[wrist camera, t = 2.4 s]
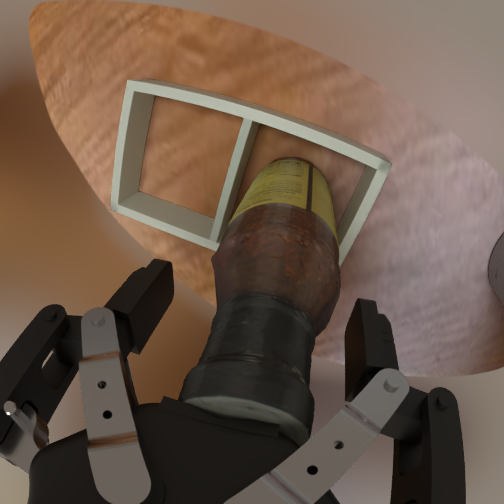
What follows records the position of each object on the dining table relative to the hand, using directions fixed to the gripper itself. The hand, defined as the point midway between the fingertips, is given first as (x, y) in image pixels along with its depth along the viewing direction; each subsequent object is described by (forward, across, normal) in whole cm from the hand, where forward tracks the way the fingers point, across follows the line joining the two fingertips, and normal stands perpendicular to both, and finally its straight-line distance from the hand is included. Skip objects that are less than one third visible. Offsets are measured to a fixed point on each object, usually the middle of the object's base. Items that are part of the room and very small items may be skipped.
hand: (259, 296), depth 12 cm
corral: (+14, +4, -1) cm, 14 cm away
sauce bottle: (+14, 0, 0) cm, 14 cm away
